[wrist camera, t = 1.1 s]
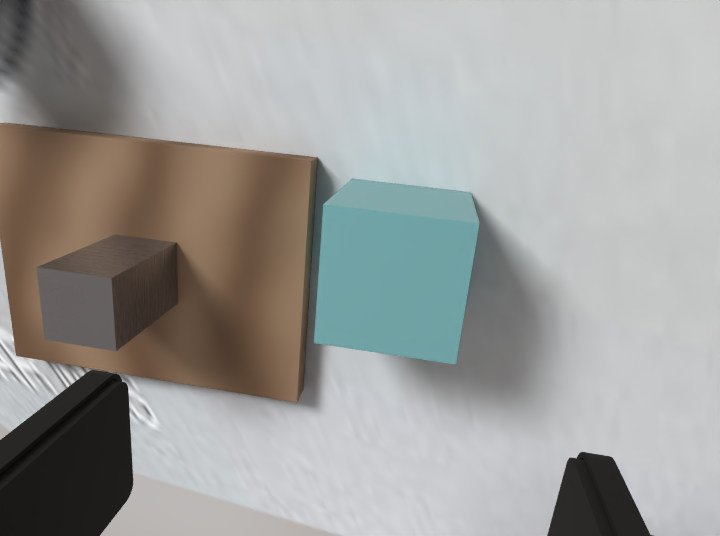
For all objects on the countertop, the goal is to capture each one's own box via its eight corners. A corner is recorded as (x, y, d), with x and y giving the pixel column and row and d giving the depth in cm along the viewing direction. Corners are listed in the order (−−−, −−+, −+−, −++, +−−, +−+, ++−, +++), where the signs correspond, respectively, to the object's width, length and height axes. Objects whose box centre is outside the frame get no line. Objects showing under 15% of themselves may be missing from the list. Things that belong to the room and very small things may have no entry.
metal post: (176, 242, 29) (111, 278, 23) (178, 303, 30) (116, 351, 24) (115, 234, 29) (36, 267, 23) (119, 294, 30) (44, 339, 25)
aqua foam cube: (470, 192, 27) (479, 223, 20) (453, 303, 29) (455, 364, 22) (352, 178, 28) (323, 204, 21) (342, 288, 30) (313, 342, 23)
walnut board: (317, 157, 28) (311, 160, 26) (303, 389, 32) (296, 402, 31) (6, 122, 30) (-16, 124, 28) (34, 345, 34) (16, 355, 33)
